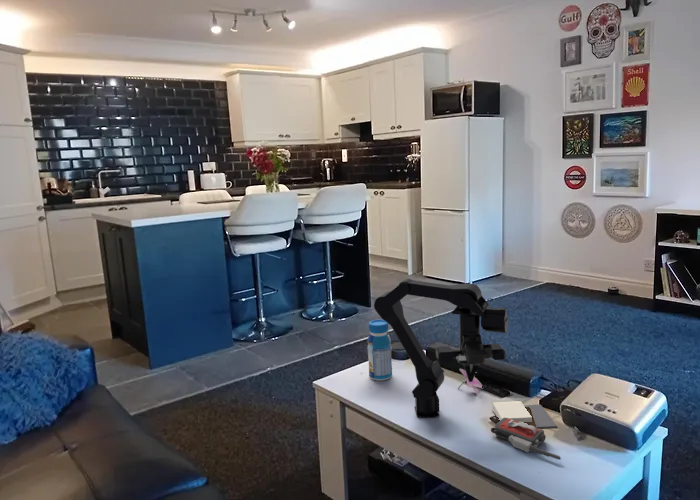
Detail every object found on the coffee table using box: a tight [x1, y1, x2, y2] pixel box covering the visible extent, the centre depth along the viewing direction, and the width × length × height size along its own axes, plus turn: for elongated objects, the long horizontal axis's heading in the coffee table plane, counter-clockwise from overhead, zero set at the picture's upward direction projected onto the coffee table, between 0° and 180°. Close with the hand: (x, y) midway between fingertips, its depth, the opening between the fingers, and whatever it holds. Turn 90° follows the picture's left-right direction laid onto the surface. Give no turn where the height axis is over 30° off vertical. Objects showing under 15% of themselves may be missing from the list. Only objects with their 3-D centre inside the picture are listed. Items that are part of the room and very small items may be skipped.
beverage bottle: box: [366, 319, 393, 382], centre depth 188 cm, size 8×8×20 cm
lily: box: [457, 368, 483, 396], centre depth 174 cm, size 11×11×9 cm
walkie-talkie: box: [490, 418, 562, 460], centre depth 141 cm, size 9×4×20 cm
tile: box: [491, 400, 532, 422], centre depth 156 cm, size 2×10×8 cm
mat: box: [523, 404, 558, 429], centre depth 156 cm, size 14×13×1 cm
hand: (470, 381), depth 154 cm, fingers closed
